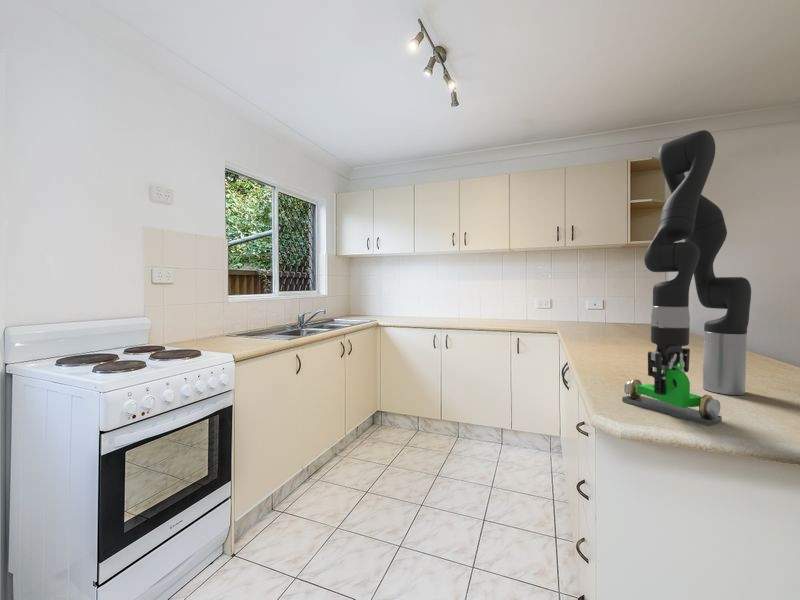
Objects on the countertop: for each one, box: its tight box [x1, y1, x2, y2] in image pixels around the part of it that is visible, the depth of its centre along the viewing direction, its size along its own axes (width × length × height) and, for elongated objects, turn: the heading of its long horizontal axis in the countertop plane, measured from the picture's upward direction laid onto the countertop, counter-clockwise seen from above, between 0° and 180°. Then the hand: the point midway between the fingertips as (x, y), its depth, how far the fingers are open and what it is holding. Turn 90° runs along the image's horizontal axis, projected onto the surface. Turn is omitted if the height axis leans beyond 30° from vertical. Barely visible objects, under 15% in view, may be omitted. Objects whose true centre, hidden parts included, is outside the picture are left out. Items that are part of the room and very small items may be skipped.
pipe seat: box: [621, 378, 723, 427], centre depth 88 cm, size 6×19×6 cm, turn 26°
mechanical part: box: [637, 370, 703, 408], centre depth 88 cm, size 12×6×8 cm, turn 12°
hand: (668, 391), depth 88 cm, fingers closed on mechanical part, 7 cm apart
